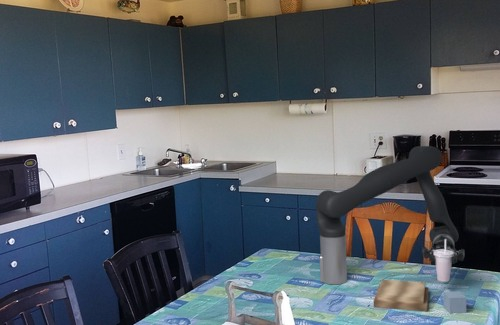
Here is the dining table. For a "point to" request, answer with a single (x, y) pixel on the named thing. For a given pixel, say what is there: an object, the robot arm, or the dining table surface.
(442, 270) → the smoothie
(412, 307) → the plinth
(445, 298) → the slate cube
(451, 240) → the robot arm
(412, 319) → the dining table surface
